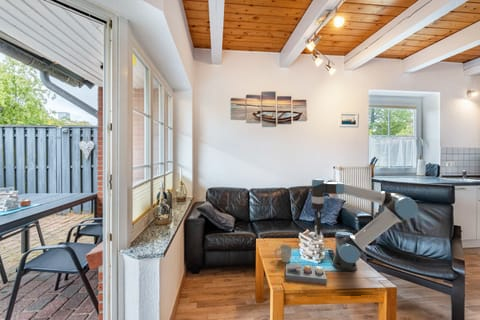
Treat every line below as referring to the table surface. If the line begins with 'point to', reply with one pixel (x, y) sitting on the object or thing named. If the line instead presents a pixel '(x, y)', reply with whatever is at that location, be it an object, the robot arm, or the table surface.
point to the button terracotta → (307, 269)
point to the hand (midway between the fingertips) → (317, 237)
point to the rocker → (294, 266)
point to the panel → (305, 275)
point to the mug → (284, 252)
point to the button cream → (319, 270)
